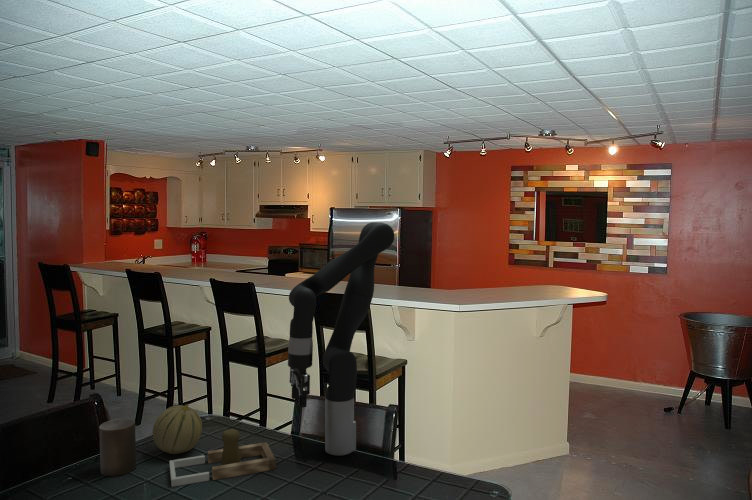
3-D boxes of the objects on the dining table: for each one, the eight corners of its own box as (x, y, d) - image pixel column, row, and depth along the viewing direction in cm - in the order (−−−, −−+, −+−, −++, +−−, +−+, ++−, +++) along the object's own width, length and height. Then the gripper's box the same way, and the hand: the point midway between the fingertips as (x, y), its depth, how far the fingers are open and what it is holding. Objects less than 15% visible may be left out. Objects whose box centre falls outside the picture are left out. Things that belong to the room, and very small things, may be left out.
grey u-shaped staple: (204, 461, 167) (204, 455, 167) (209, 480, 155) (209, 473, 155) (169, 467, 163) (169, 460, 163) (171, 486, 151) (171, 479, 151)
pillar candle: (142, 468, 162) (141, 419, 161) (107, 480, 154) (106, 427, 154) (128, 459, 168) (127, 411, 168) (94, 469, 161) (93, 419, 160)
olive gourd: (235, 472, 160) (235, 435, 159) (216, 470, 161) (216, 433, 160) (244, 463, 166) (244, 427, 165) (226, 461, 167) (226, 426, 166)
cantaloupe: (146, 450, 174) (145, 404, 173) (190, 438, 184) (190, 395, 183) (164, 466, 163) (163, 417, 162) (210, 452, 173) (209, 406, 172)
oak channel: (266, 451, 174) (266, 442, 174) (275, 469, 162) (275, 459, 162) (207, 460, 167) (207, 451, 167) (212, 480, 155) (212, 469, 155)
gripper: (319, 355, 164) (317, 408, 164) (305, 345, 177) (303, 395, 178) (294, 357, 161) (292, 411, 161) (282, 346, 174) (281, 397, 174)
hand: (298, 402), depth 169 cm, fingers open, 8 cm apart
